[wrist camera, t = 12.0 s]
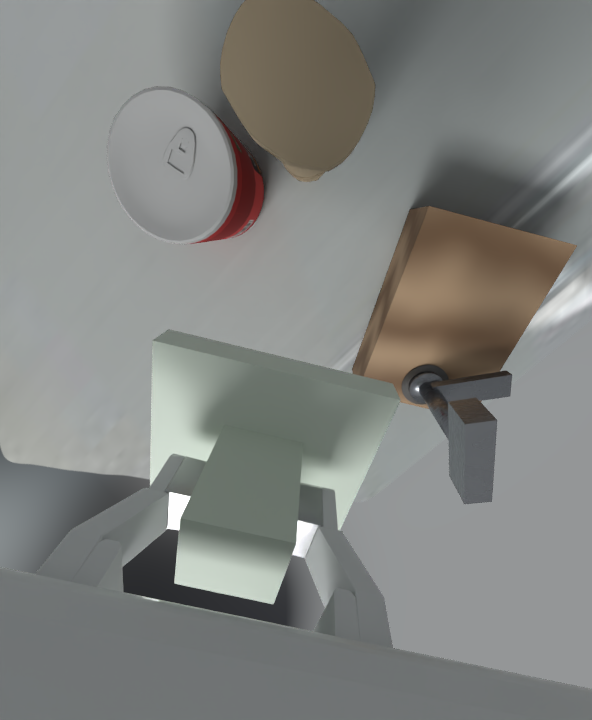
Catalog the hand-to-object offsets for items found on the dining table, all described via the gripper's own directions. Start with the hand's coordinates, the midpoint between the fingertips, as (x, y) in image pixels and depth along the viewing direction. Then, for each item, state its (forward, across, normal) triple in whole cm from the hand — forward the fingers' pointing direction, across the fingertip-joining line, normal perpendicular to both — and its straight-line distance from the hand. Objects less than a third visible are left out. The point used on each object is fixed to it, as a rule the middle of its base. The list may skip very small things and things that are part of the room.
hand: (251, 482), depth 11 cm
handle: (+23, +2, -14) cm, 27 cm away
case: (+22, -14, -4) cm, 27 cm away
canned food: (+23, +9, -10) cm, 26 cm away
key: (+17, -16, +1) cm, 24 cm away
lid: (+2, 0, 0) cm, 2 cm away
